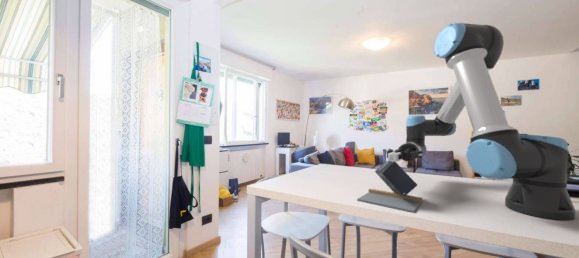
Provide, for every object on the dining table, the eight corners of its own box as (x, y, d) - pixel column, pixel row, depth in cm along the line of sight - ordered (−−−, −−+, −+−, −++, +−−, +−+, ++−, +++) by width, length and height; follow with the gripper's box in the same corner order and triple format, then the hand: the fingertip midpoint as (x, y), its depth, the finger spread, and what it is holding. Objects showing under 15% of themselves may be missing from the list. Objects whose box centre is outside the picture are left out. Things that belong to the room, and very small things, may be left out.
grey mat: (422, 203, 82) (422, 197, 82) (413, 212, 74) (413, 206, 74) (370, 193, 94) (370, 188, 94) (357, 200, 85) (357, 195, 85)
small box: (407, 181, 90) (419, 185, 80) (394, 193, 90) (404, 198, 80) (387, 159, 92) (395, 160, 81) (374, 171, 92) (380, 173, 81)
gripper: (428, 162, 99) (413, 170, 81) (392, 158, 108) (371, 166, 90) (428, 143, 99) (413, 148, 81) (392, 142, 108) (371, 145, 90)
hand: (391, 157), depth 86 cm, fingers closed, pressing on small box
